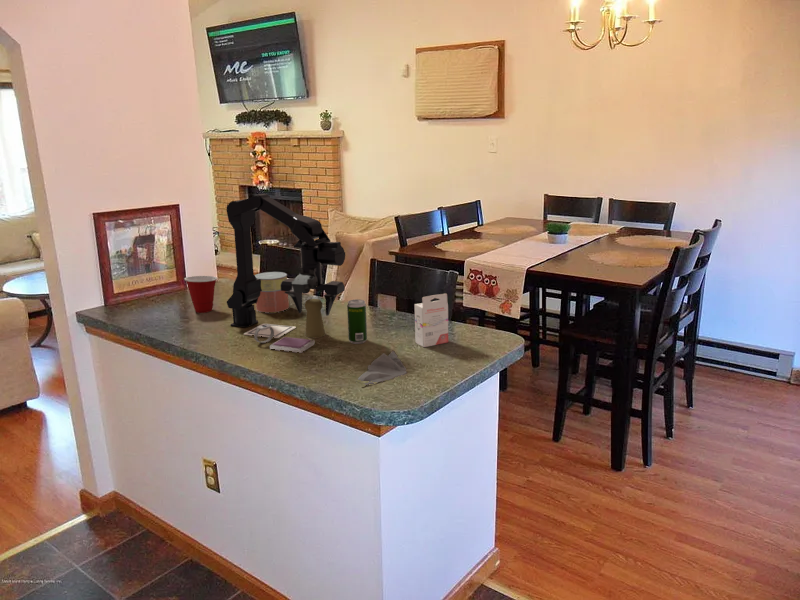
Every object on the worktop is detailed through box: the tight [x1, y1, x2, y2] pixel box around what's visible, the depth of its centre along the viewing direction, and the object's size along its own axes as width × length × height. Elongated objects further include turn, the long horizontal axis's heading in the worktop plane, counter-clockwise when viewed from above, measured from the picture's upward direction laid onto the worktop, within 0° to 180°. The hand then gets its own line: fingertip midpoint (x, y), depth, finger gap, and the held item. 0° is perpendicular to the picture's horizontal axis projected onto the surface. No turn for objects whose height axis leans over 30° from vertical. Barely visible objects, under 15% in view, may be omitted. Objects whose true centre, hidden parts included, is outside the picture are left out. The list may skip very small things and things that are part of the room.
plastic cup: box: [184, 275, 218, 314], centre depth 217 cm, size 11×11×12 cm
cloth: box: [357, 350, 408, 385], centre depth 160 cm, size 26×14×2 cm, turn 151°
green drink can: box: [346, 298, 368, 345], centre depth 181 cm, size 5×5×12 cm
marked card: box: [243, 323, 297, 339], centre depth 194 cm, size 12×11×1 cm
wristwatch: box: [253, 323, 274, 344], centre depth 183 cm, size 6×3×5 cm, turn 137°
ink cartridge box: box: [414, 292, 449, 348], centre depth 179 cm, size 9×5×15 cm, turn 118°
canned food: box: [254, 271, 290, 314], centre depth 218 cm, size 11×11×12 cm
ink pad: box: [269, 336, 316, 354], centre depth 179 cm, size 10×8×2 cm
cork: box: [304, 298, 326, 339], centre depth 188 cm, size 6×6×11 cm
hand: (313, 314), depth 188 cm, fingers open, 9 cm apart
